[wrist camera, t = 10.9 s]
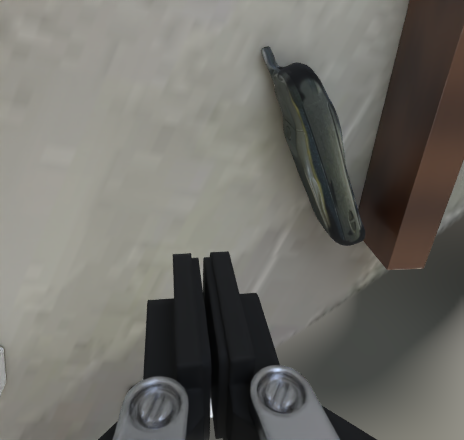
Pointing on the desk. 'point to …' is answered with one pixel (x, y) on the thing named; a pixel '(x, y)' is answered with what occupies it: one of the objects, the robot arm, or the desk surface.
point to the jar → (2, 370)
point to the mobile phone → (317, 148)
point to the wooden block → (417, 137)
